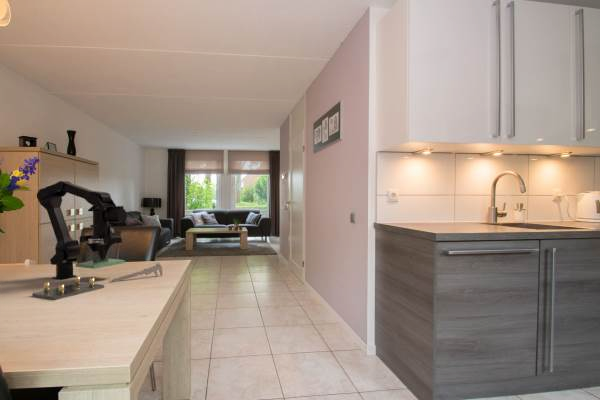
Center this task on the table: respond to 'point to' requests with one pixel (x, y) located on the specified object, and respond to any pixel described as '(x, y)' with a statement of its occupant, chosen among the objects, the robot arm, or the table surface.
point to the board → (99, 262)
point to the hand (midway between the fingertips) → (100, 259)
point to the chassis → (67, 289)
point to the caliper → (145, 271)
